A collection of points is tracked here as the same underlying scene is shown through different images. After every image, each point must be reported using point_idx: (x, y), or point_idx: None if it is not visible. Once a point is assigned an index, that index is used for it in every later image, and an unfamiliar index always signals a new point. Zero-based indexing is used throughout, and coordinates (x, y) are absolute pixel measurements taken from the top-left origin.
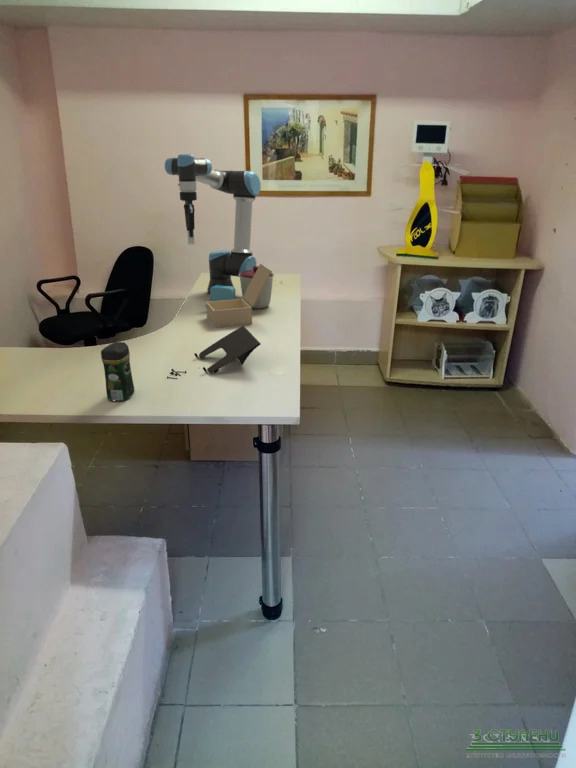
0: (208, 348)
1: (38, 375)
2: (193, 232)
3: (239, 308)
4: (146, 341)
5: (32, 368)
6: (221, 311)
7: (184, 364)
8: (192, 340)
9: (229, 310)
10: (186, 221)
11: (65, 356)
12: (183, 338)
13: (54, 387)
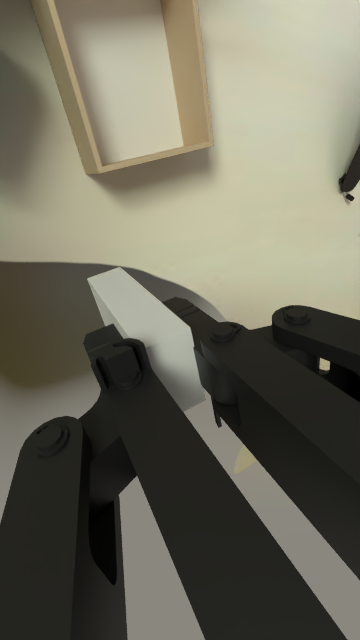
0: (352, 171)
1: None
2: (174, 316)
3: (199, 22)
4: (247, 306)
5: None
6: (207, 114)
7: (354, 217)
8: (261, 211)
9: (203, 77)
10: (123, 608)
11: None
12: (246, 233)
13: None
